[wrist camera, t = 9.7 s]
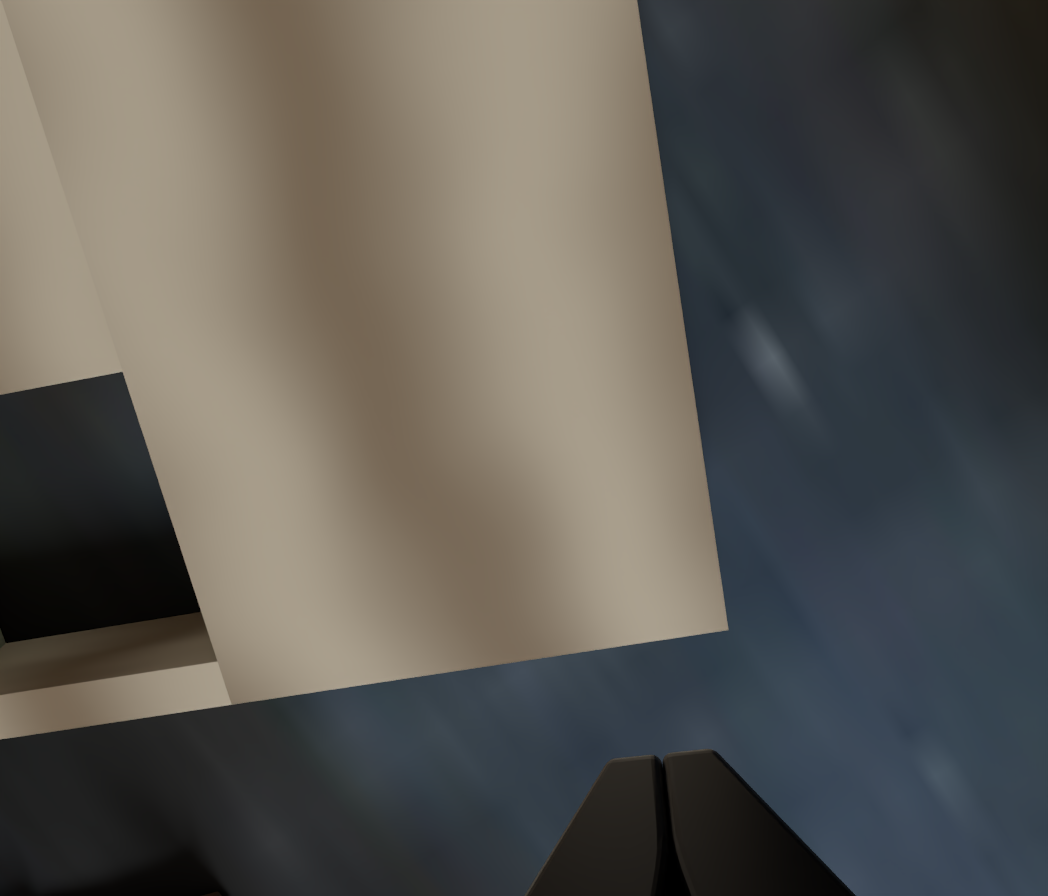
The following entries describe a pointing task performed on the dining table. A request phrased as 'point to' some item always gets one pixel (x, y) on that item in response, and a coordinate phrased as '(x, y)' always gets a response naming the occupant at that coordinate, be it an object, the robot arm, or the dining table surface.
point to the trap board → (357, 335)
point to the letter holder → (213, 894)
